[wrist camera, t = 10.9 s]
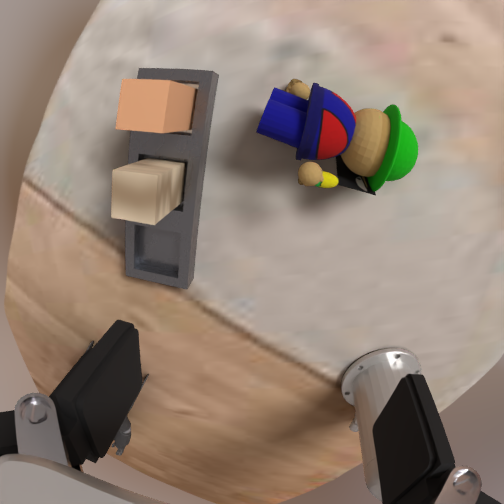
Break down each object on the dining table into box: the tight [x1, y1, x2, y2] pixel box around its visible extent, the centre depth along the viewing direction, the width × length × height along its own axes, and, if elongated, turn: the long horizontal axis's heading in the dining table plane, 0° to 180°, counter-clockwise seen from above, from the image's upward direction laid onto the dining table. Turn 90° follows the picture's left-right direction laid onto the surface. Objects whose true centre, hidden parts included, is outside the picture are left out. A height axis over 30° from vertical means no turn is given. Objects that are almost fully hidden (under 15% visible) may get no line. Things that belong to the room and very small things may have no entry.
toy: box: [256, 79, 418, 195], centre depth 27 cm, size 12×9×15 cm
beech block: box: [111, 158, 187, 225], centre depth 30 cm, size 4×4×8 cm
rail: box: [125, 68, 219, 289], centre depth 33 cm, size 24×8×3 cm, turn 171°
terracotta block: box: [116, 79, 197, 133], centre depth 26 cm, size 4×4×8 cm
